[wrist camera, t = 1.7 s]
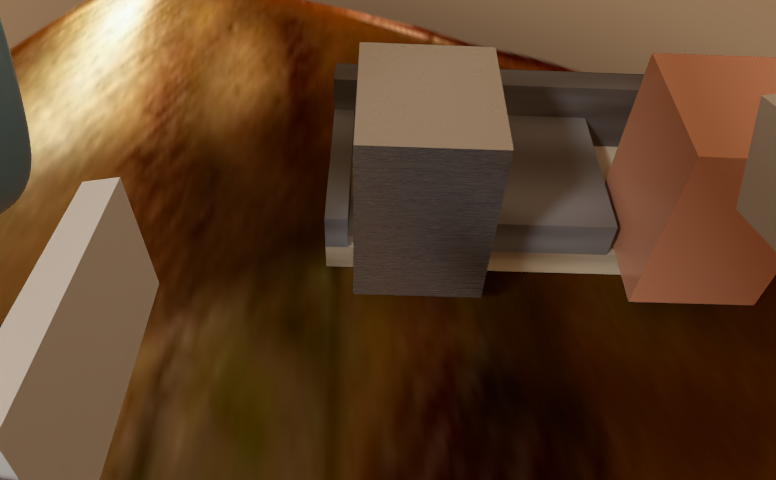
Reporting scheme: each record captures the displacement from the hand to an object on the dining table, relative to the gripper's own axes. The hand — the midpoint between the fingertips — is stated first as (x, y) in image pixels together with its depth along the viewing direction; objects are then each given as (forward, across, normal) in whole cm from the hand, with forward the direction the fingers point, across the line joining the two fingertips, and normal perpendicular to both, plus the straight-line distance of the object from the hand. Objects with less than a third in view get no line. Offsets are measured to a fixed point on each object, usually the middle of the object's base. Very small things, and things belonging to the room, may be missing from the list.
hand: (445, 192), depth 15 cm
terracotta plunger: (+15, +13, -14) cm, 25 cm away
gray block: (+16, 0, -12) cm, 20 cm away
